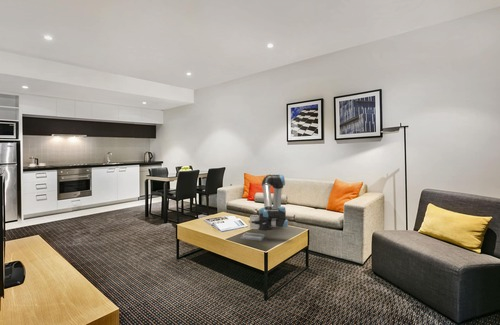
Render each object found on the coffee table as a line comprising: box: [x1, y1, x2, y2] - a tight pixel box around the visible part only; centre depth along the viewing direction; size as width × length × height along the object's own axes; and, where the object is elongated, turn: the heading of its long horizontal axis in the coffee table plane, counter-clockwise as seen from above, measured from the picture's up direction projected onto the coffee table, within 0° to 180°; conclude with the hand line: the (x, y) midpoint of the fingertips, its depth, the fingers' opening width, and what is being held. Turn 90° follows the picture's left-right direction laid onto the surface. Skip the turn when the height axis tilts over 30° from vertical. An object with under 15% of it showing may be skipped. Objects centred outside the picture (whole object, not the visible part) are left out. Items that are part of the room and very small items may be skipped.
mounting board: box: [239, 231, 266, 242], centre depth 262 cm, size 16×22×2 cm
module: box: [249, 214, 259, 230], centre depth 260 cm, size 6×8×13 cm
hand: (249, 220), depth 262 cm, fingers closed on module, 6 cm apart
